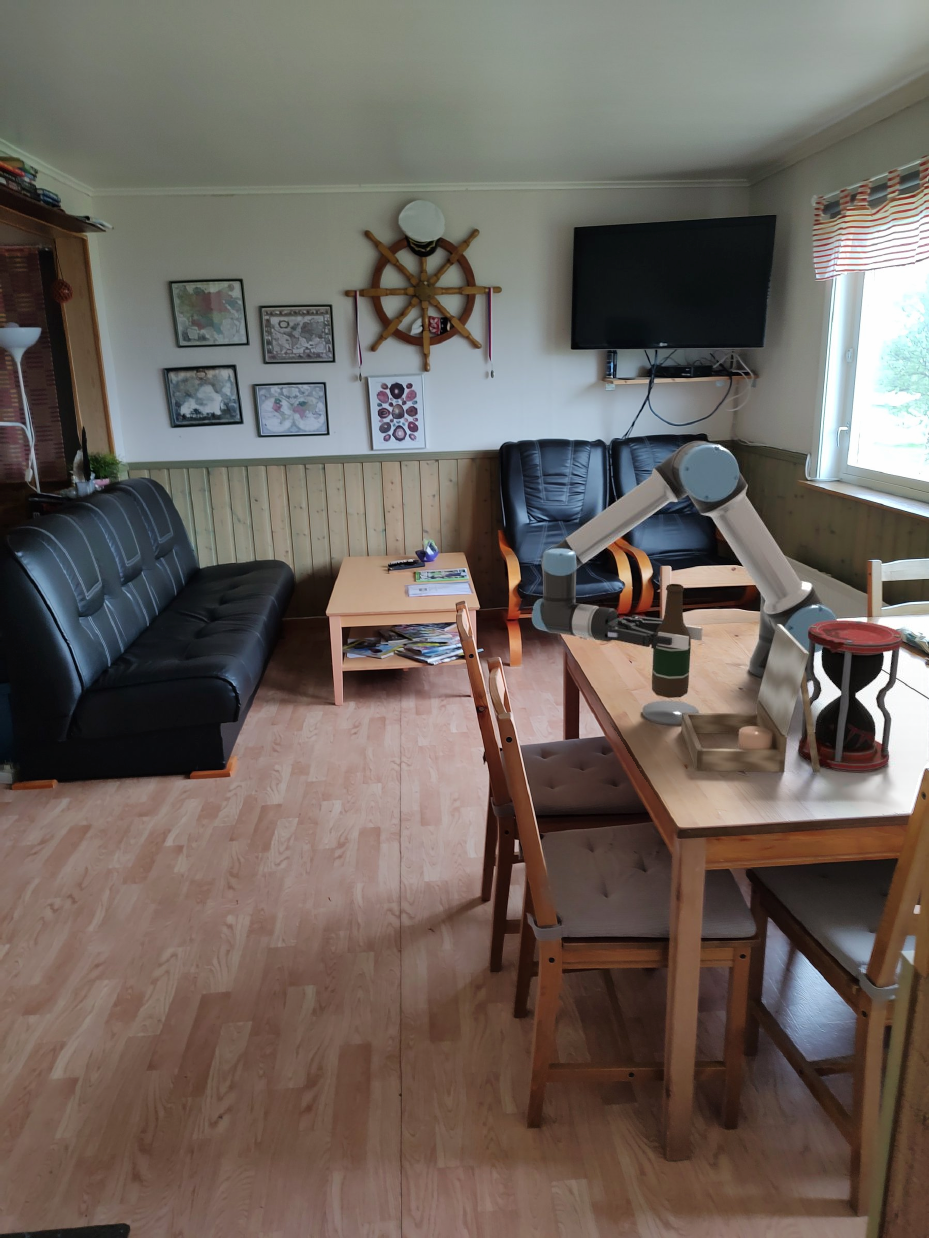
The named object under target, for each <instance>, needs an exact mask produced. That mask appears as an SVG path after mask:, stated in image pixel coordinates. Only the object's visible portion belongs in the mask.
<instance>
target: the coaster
mask: <svg viewBox="0 0 929 1238" xmlns="http://www.w3.org/2000/svg"><path fill="white" fill-rule="evenodd" d="M682 713H700V711H699V709H698V708H697V707H695V705H693V704H689V703H686V702H682V701H675V700H657V701H656V700H655V701H651V702H648V703H647V704H645V705H644V706H643V707H642V717H644V719H647V720H648V721H650V722H652V723H656V724H660V725H666V726H681V725H682Z"/></svg>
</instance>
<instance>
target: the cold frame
mask: <svg viewBox="0 0 929 1238" xmlns="http://www.w3.org/2000/svg"><path fill="white" fill-rule="evenodd" d="M808 656H809V653H808V652H807V651H806V650H805V649H804V648H803V647H802V646H801V645H800V644H799V643H798V641H797V640H796V639H795V638H794V637H793V636H792V635H791V634H790V633H789V632H788V631H787V630H786V629H785V628H784V627H783V626H782V625H780V624H777V626H776V630H775V634H774V638H773V642H772V645H771V649H770V653H769V657H768V661H767V664H766V668H765V672H764V676H763V678H762V679H761V685H760V688H759V691H758V697H757V700H756V709H755V710H756V711H755V713H738V712H737V713H735V712H734V713H730V712H729V713H727V712H725V713H724V712H723V713H720V712H719V713H718V712H717V713H716V712H714V713H712V712H711V713H710V712H699V713H682V725H680V726H681V727H680V728H681V729H680V731H681V734H682V737H683V739H684V741H685V744H686V747H687V749H688V752H689V755H690V757H691V760H692V761H693V762H692V763H693V765H694V768H695V771H709V772H710V771H714V772H715V771H718V772H719V771H721V772H725V771H726V772H728V771H729V772H773V773H775V772H777V773H778V772H779V773H780V772H782V773H784V772H785V769H786V768H785V767H786V765H785V764H786V754H787V745H788V741H787V740H788V736H787V735H788V731H789V728H790V725H791V720H792V717H793V714H794V710H795V706H796V702H797V699H798V696H799V692H801V697H802V703H803V709H804V713H805V720H806V726H807V733H808V740H809V746H810V753H811V760H812V762H811V767H812V771H813V772H815V773H820V772H821V768H820V767H821V766H819V760H818V753H817V746H816V739H815V733H814V732H815V725H814V719H813V713H812V705H810V699H809V698H810V694H809V693H810V691H809V685H808V680H807V678H806V672H805V667H806V663H807V660H808ZM747 726H757V727H762V728H766V729H768V730H770V731H771V732H772V747H771V749H738V748H702V746H701V745H702V744H701V743H700V741H699V738H698V735H697V734H739V730H740V729H741V728H743V727H747Z"/></svg>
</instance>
